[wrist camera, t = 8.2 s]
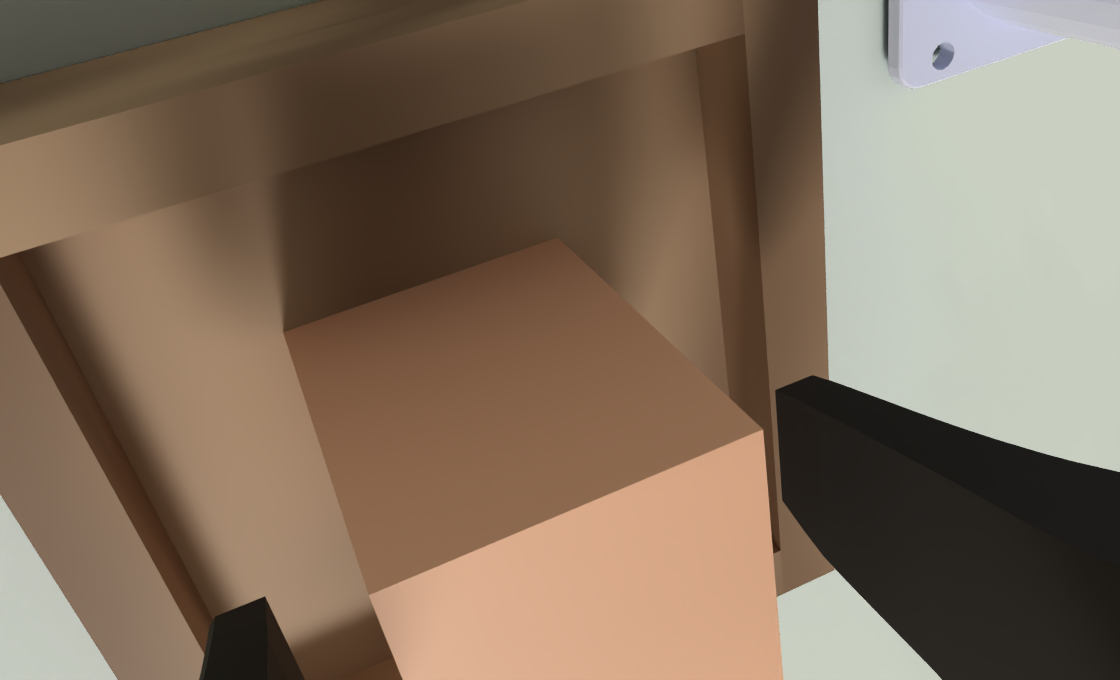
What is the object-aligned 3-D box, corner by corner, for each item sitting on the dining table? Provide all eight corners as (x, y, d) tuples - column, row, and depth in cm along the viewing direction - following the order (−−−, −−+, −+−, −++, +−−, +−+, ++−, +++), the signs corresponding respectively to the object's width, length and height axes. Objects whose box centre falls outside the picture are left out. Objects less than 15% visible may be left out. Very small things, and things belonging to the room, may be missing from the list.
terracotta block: (557, 237, 15) (763, 428, 10) (599, 453, 18) (784, 692, 13) (283, 331, 14) (368, 594, 9) (367, 548, 17) (471, 849, 12)
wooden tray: (690, -96, 16) (815, -79, 13) (742, 475, 22) (834, 570, 20) (-121, 115, 13) (-188, 197, 10) (212, 701, 19) (228, 853, 17)
